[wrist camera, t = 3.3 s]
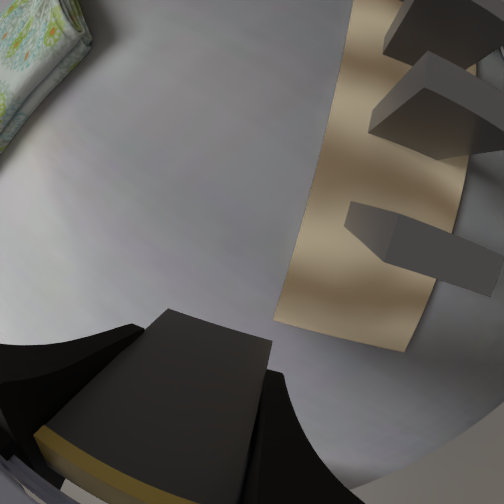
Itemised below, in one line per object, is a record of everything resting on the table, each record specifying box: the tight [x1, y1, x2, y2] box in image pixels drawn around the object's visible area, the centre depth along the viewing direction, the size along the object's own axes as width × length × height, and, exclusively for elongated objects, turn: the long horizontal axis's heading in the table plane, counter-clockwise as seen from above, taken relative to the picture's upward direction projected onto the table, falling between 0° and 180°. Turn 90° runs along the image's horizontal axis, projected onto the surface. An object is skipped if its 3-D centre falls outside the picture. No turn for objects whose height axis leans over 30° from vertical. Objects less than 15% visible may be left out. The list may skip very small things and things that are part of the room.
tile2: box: [344, 201, 504, 297], centre depth 12 cm, size 2×5×9 cm, turn 76°
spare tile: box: [33, 309, 272, 504], centre depth 9 cm, size 2×5×9 cm, turn 76°
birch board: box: [273, 0, 476, 352], centre depth 15 cm, size 34×10×1 cm, turn 166°
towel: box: [0, 0, 93, 154], centre depth 17 cm, size 18×21×5 cm
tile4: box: [382, 0, 504, 70], centre depth 10 cm, size 2×5×9 cm, turn 76°
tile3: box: [368, 51, 504, 160], centre depth 11 cm, size 2×5×9 cm, turn 76°
